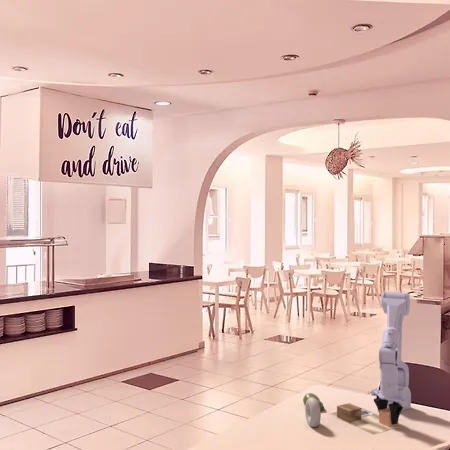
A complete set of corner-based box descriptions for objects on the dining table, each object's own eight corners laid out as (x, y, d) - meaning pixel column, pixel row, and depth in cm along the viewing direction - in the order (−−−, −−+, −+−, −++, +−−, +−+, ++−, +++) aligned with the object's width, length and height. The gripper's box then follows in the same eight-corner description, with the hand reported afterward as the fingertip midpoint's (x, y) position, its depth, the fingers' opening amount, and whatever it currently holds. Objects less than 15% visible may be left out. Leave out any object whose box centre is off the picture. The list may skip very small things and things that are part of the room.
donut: (322, 432, 187) (322, 402, 187) (312, 432, 186) (312, 403, 186) (313, 421, 197) (313, 393, 197) (303, 421, 196) (303, 393, 196)
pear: (313, 390, 214) (328, 402, 205) (311, 402, 215) (327, 415, 206) (301, 391, 212) (316, 404, 203) (299, 404, 213) (314, 417, 204)
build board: (358, 408, 209) (358, 406, 209) (404, 427, 191) (404, 425, 191) (328, 416, 202) (328, 413, 202) (373, 436, 183) (373, 433, 183)
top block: (388, 420, 195) (388, 407, 195) (398, 424, 191) (398, 411, 191) (379, 422, 193) (379, 410, 193) (389, 427, 189) (389, 413, 189)
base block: (349, 414, 202) (349, 403, 202) (361, 419, 196) (361, 407, 196) (336, 417, 199) (336, 405, 198) (348, 422, 193) (348, 411, 193)
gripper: (365, 378, 196) (364, 417, 196) (397, 389, 184) (397, 430, 184) (379, 375, 200) (379, 413, 200) (411, 386, 187) (411, 426, 188)
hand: (388, 421), depth 192 cm, fingers closed on top block, 4 cm apart
